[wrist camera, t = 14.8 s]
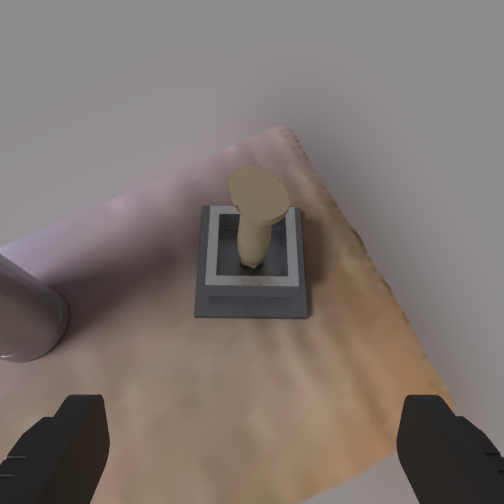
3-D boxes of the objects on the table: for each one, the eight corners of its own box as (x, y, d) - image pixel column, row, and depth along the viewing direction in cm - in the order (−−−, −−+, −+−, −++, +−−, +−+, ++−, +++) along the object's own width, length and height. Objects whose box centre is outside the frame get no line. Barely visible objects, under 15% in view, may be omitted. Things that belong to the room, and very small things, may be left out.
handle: (251, 232, 47) (258, 158, 34) (280, 267, 45) (300, 202, 32) (223, 250, 46) (218, 180, 32) (251, 287, 44) (259, 228, 30)
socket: (195, 317, 43) (189, 306, 38) (203, 209, 50) (199, 189, 45) (306, 319, 43) (313, 307, 39) (299, 211, 50) (304, 191, 46)
